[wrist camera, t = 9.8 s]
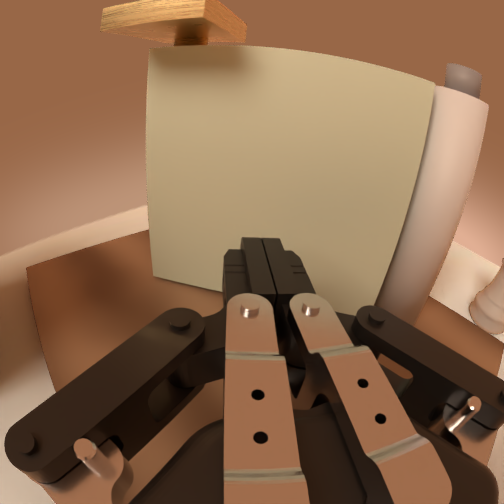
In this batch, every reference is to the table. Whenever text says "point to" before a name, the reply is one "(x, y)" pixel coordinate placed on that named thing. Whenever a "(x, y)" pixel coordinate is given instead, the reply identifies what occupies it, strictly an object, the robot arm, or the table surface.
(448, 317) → the board
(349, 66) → the hinge
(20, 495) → the table surface
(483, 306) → the rook chess piece
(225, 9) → the plate
